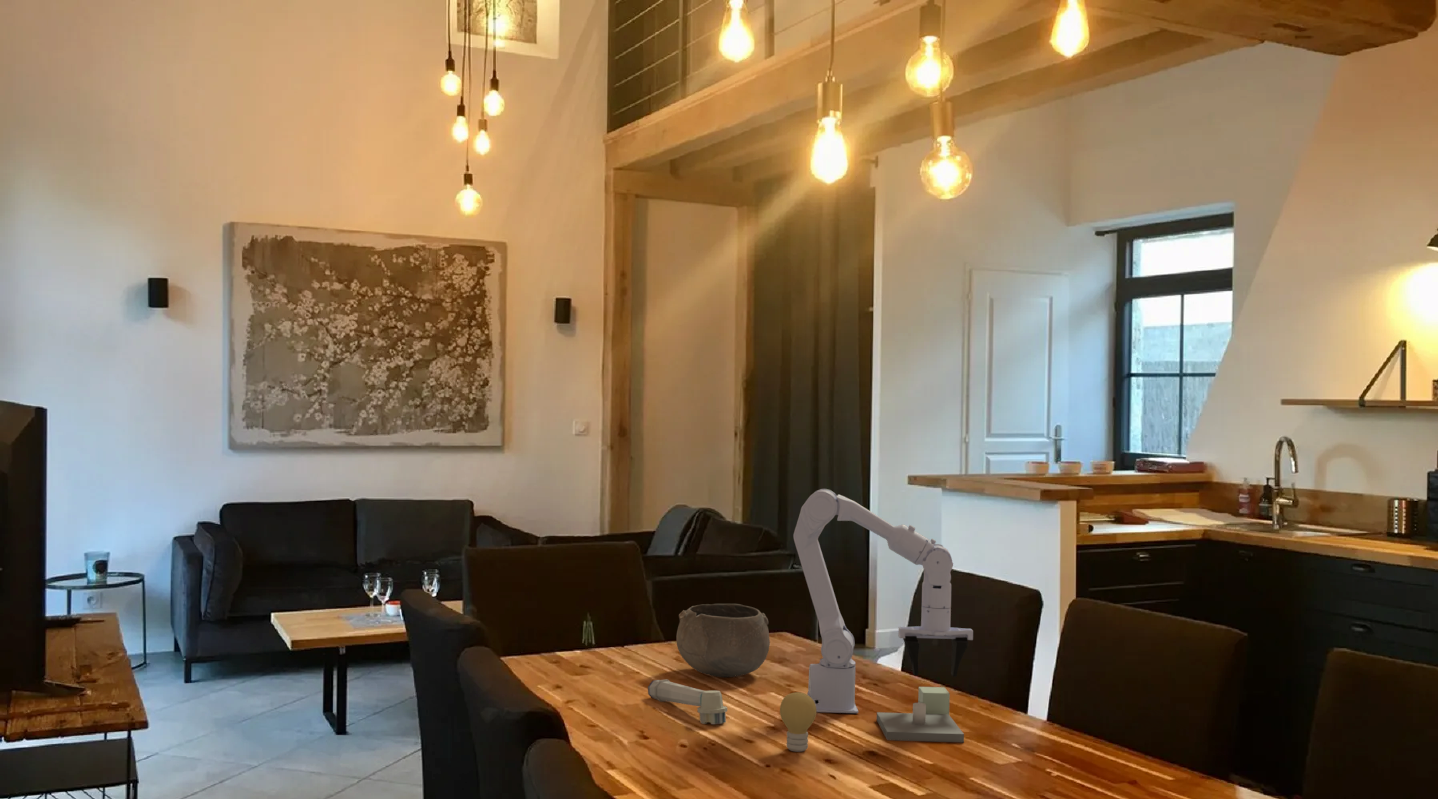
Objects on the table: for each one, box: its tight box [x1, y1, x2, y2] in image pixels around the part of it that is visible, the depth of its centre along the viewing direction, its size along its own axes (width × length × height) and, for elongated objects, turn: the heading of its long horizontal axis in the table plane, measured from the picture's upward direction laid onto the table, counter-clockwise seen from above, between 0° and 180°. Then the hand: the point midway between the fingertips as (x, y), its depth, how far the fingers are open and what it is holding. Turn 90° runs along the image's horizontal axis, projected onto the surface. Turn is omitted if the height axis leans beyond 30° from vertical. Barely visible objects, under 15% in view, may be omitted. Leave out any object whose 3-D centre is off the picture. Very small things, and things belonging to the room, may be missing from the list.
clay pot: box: [676, 603, 771, 678], centre depth 259 cm, size 21×21×15 cm
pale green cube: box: [917, 686, 951, 715], centre depth 228 cm, size 5×5×5 cm
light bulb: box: [779, 691, 817, 753], centre depth 201 cm, size 6×6×10 cm
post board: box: [876, 702, 965, 743], centre depth 216 cm, size 14×14×5 cm
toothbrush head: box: [647, 678, 728, 725], centre depth 226 cm, size 5×7×25 cm
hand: (934, 675), depth 228 cm, fingers open, 7 cm apart
